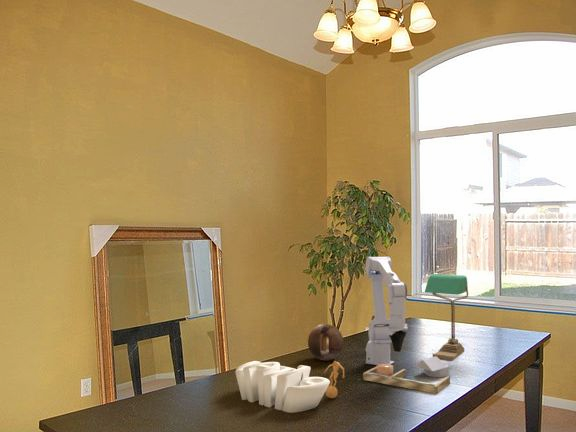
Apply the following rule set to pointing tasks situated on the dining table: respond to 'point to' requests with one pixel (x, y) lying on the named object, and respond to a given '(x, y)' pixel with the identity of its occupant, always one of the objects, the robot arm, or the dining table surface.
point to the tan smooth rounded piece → (385, 369)
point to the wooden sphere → (325, 342)
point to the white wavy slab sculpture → (280, 386)
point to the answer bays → (405, 381)
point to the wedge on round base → (434, 367)
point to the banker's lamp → (456, 287)
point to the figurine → (332, 390)
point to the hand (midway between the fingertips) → (397, 351)
